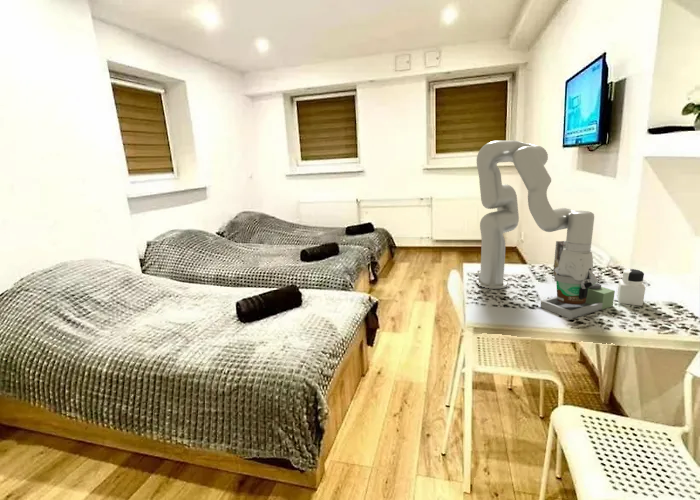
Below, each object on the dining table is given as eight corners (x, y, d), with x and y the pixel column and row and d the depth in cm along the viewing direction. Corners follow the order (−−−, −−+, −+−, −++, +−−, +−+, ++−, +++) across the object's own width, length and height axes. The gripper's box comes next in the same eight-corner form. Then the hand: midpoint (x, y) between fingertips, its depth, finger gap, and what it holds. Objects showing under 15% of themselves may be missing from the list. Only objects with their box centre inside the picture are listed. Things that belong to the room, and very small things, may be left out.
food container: (561, 306, 131) (563, 279, 129) (553, 300, 137) (554, 274, 135) (598, 305, 131) (600, 277, 129) (587, 299, 137) (589, 272, 135)
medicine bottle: (639, 299, 140) (644, 268, 137) (642, 306, 134) (647, 274, 131) (616, 296, 144) (620, 266, 141) (618, 303, 138) (622, 272, 135)
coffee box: (575, 281, 161) (579, 245, 157) (559, 281, 162) (562, 245, 158) (568, 275, 170) (571, 240, 166) (552, 274, 171) (555, 240, 167)
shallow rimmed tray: (540, 306, 138) (542, 289, 136) (581, 295, 146) (583, 278, 144) (570, 319, 127) (572, 299, 125) (612, 306, 135) (615, 288, 134)
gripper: (548, 243, 136) (544, 289, 141) (595, 253, 121) (589, 305, 125) (562, 240, 139) (558, 286, 143) (610, 250, 124) (604, 301, 128)
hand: (573, 294), depth 134 cm, fingers closed on food container, 6 cm apart
